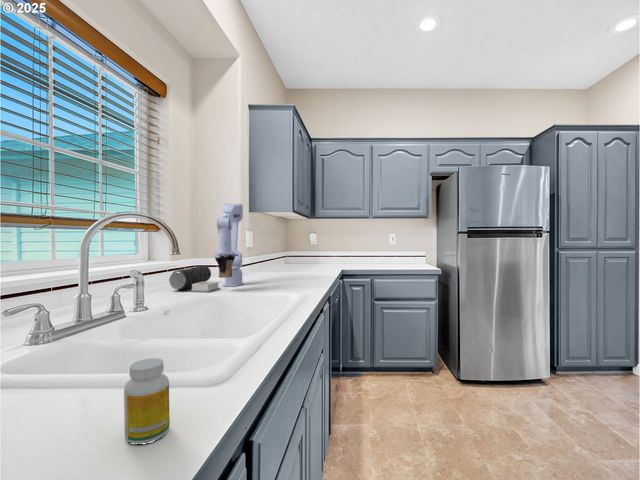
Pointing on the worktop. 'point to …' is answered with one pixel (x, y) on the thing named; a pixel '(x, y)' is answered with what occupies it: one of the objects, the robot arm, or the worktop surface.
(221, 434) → the worktop surface
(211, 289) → the socket block
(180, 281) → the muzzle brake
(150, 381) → the supplement bottle
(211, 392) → the worktop surface
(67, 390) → the worktop surface
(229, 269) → the walnut plug
